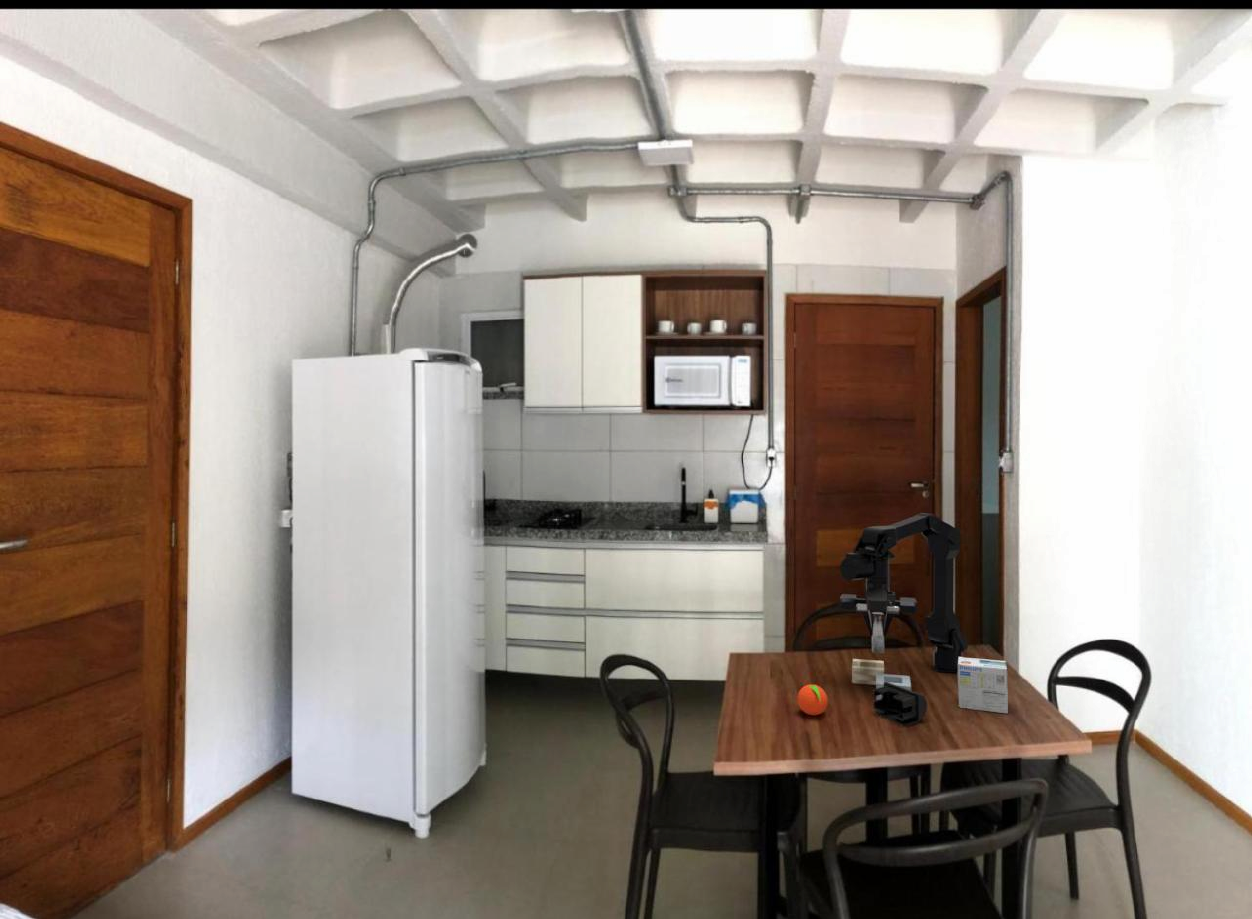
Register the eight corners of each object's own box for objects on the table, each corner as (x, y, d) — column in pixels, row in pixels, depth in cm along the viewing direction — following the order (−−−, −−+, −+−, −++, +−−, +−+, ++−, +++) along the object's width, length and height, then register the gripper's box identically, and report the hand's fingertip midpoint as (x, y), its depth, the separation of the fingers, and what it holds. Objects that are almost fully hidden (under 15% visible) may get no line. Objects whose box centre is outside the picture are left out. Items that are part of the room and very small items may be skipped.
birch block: (884, 675, 196) (883, 661, 196) (884, 685, 189) (884, 670, 189) (853, 673, 199) (852, 658, 199) (852, 683, 191) (852, 668, 191)
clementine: (835, 720, 167) (834, 690, 167) (806, 723, 166) (806, 692, 166) (820, 707, 175) (819, 678, 175) (793, 710, 174) (792, 680, 173)
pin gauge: (884, 650, 189) (883, 612, 188) (884, 654, 186) (883, 615, 185) (872, 649, 190) (871, 611, 189) (871, 653, 187) (871, 614, 186)
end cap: (928, 721, 165) (927, 692, 165) (906, 728, 162) (905, 698, 162) (893, 707, 174) (892, 679, 174) (871, 713, 171) (871, 685, 170)
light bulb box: (1007, 704, 174) (1006, 660, 174) (1008, 714, 168) (1008, 668, 167) (958, 698, 178) (957, 655, 178) (957, 708, 172) (957, 663, 172)
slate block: (909, 691, 184) (909, 676, 184) (911, 702, 176) (911, 686, 176) (876, 688, 187) (876, 673, 186) (876, 699, 179) (876, 683, 179)
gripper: (837, 580, 183) (838, 642, 183) (917, 584, 176) (917, 648, 177) (840, 572, 193) (841, 630, 194) (916, 576, 187) (916, 636, 187)
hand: (878, 636), depth 188 cm, fingers closed on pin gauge, 3 cm apart
